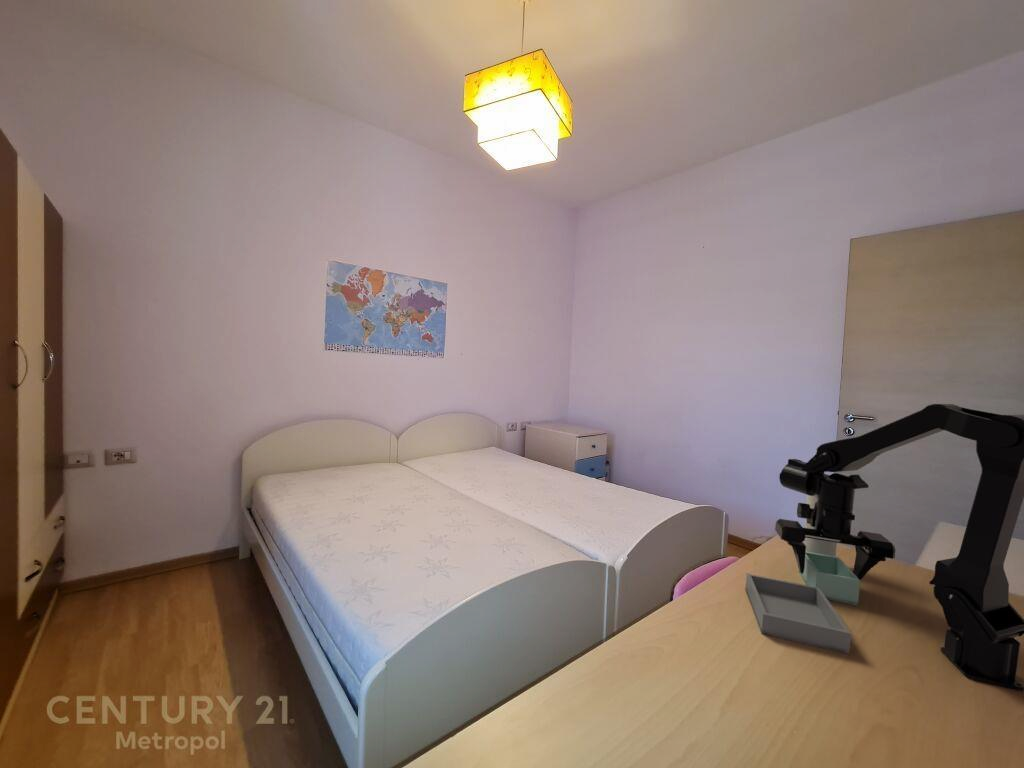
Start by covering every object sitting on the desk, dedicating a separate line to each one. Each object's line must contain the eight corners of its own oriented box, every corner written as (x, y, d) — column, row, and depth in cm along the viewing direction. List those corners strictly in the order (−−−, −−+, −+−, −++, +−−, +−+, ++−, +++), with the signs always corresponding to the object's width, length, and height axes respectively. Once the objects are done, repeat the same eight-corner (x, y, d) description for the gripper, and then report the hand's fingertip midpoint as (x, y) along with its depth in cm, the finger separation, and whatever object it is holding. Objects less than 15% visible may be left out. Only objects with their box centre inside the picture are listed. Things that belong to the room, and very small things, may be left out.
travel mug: (794, 559, 97) (801, 476, 95) (810, 554, 99) (818, 474, 98) (823, 572, 91) (832, 484, 89) (840, 567, 94) (849, 481, 92)
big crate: (817, 604, 78) (818, 587, 78) (849, 654, 65) (851, 633, 65) (745, 589, 83) (746, 573, 82) (761, 633, 69) (763, 614, 69)
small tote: (798, 572, 90) (800, 550, 90) (836, 579, 88) (839, 557, 88) (814, 596, 81) (816, 572, 81) (857, 605, 79) (860, 580, 78)
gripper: (872, 498, 88) (864, 568, 89) (771, 485, 94) (766, 551, 95) (900, 517, 77) (892, 596, 78) (785, 501, 83) (779, 574, 85)
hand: (827, 577), depth 84 cm, fingers open, 9 cm apart
